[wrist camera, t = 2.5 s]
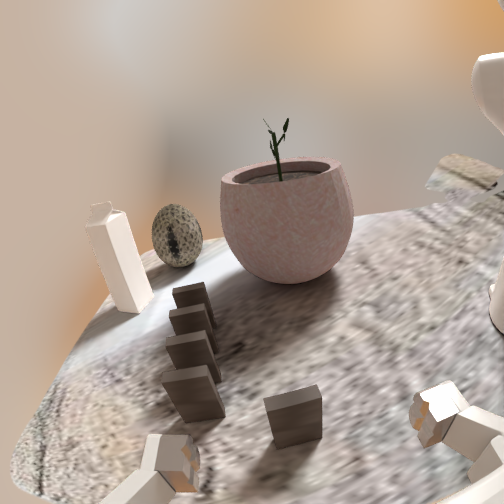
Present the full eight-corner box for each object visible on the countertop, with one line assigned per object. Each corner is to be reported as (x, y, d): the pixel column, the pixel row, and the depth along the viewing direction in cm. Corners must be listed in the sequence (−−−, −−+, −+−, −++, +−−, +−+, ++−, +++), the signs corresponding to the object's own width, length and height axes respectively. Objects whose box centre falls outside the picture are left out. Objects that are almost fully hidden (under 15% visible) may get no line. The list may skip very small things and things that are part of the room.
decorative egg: (166, 258, 77) (150, 204, 71) (209, 249, 77) (195, 193, 71) (157, 280, 67) (137, 219, 61) (206, 271, 67) (190, 207, 60)
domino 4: (224, 407, 34) (206, 364, 30) (225, 417, 32) (207, 375, 29) (185, 413, 33) (162, 372, 30) (185, 423, 32) (161, 382, 28)
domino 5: (318, 426, 29) (316, 384, 25) (322, 437, 27) (321, 397, 24) (274, 438, 28) (263, 398, 25) (276, 449, 27) (266, 411, 24)
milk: (133, 295, 62) (100, 199, 53) (155, 297, 60) (121, 195, 51) (118, 311, 57) (78, 211, 48) (139, 314, 55) (99, 207, 46)
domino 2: (217, 345, 44) (204, 303, 41) (218, 352, 43) (204, 309, 40) (186, 351, 44) (169, 310, 41) (186, 358, 43) (168, 317, 39)
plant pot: (216, 304, 54) (173, 136, 42) (256, 246, 74) (233, 122, 62) (352, 311, 46) (339, 110, 33) (356, 244, 66) (345, 108, 53)
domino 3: (220, 373, 39) (205, 330, 36) (221, 381, 38) (205, 338, 34) (185, 379, 39) (166, 337, 35) (185, 388, 37) (165, 346, 34)
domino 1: (215, 322, 50) (203, 281, 46) (216, 327, 48) (203, 287, 45) (187, 327, 49) (173, 288, 46) (187, 333, 48) (172, 293, 45)
